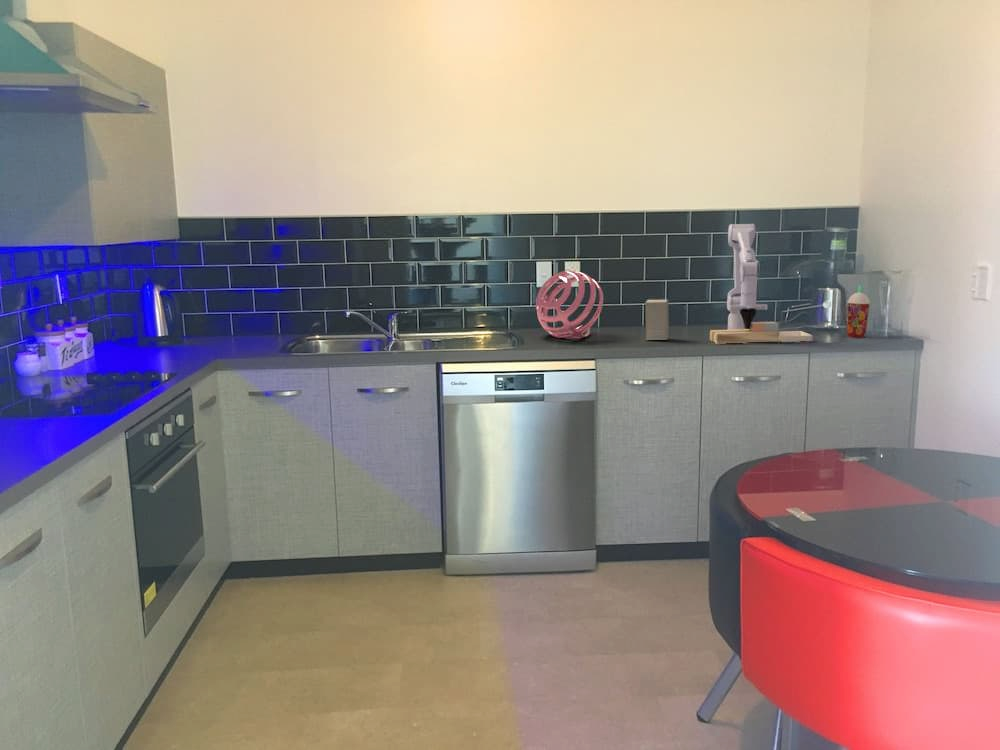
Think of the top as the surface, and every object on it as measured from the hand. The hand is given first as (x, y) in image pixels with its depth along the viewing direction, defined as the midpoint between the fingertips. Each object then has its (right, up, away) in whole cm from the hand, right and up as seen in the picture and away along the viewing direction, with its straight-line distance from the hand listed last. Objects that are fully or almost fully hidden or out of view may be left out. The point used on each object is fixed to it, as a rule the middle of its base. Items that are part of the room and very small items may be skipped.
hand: (747, 328), depth 322 cm
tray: (+18, -4, +2) cm, 18 cm away
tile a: (+4, -1, 0) cm, 4 cm away
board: (-1, -5, +1) cm, 5 cm away
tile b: (+9, -1, +1) cm, 9 cm away
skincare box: (-33, -4, +8) cm, 34 cm away
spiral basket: (-68, -3, +18) cm, 70 cm away
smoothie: (+45, -3, +7) cm, 45 cm away
